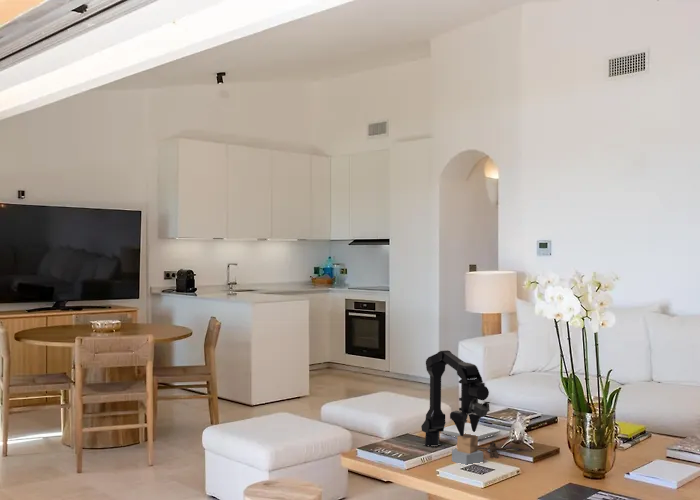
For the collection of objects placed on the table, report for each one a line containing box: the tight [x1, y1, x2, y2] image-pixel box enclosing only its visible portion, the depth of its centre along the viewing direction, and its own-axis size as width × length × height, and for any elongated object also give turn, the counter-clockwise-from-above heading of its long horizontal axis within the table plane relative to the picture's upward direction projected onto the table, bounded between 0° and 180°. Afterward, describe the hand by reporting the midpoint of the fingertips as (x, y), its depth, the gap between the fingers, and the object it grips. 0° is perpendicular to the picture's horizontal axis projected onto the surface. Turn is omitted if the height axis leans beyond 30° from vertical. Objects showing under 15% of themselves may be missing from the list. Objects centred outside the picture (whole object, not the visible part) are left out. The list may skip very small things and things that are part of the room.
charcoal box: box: [451, 448, 484, 465], centre depth 291 cm, size 9×9×5 cm
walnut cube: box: [456, 433, 479, 453], centre depth 291 cm, size 6×6×6 cm
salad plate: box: [440, 422, 502, 440], centre depth 333 cm, size 21×21×3 cm
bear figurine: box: [478, 441, 512, 459], centre depth 304 cm, size 18×4×14 cm
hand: (468, 433), depth 291 cm, fingers open, 9 cm apart
